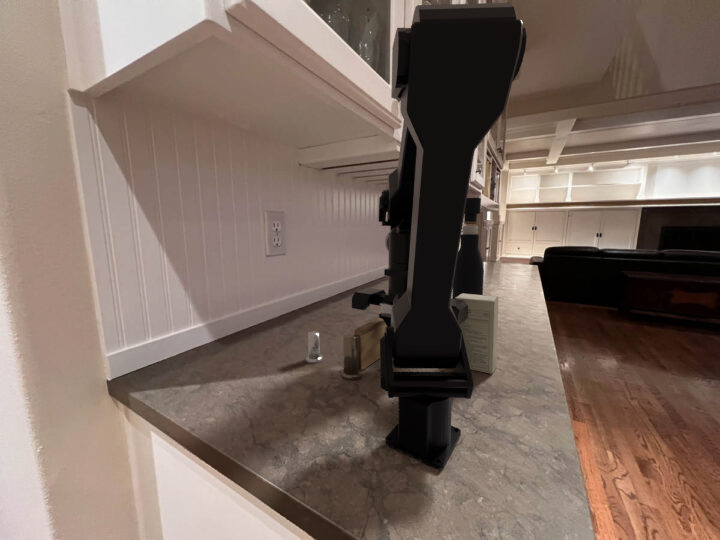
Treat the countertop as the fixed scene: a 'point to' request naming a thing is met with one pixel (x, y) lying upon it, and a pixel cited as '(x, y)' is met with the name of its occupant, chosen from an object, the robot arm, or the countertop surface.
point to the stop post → (314, 348)
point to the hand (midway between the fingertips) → (404, 354)
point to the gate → (369, 342)
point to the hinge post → (350, 357)
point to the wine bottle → (469, 255)
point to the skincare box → (481, 331)
